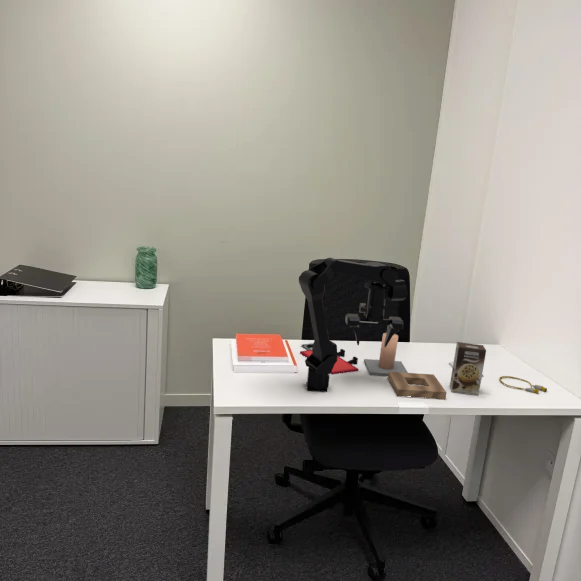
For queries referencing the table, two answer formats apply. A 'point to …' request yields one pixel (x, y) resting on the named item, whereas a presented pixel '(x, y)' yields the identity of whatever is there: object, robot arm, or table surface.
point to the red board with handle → (340, 365)
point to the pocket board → (429, 381)
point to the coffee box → (467, 368)
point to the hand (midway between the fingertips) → (371, 345)
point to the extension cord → (526, 388)
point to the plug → (388, 352)
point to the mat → (376, 370)
